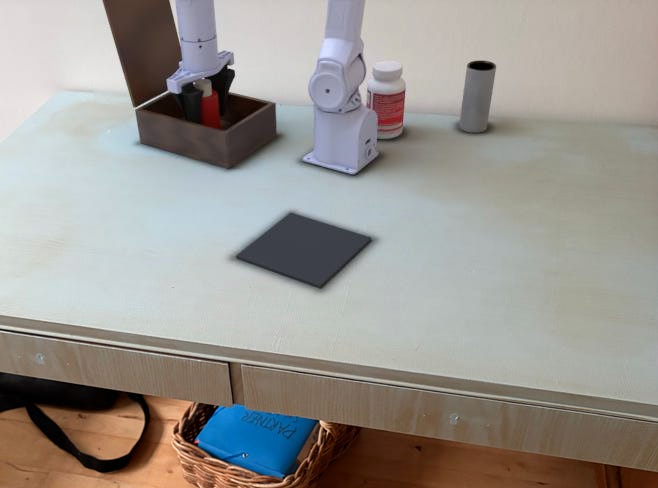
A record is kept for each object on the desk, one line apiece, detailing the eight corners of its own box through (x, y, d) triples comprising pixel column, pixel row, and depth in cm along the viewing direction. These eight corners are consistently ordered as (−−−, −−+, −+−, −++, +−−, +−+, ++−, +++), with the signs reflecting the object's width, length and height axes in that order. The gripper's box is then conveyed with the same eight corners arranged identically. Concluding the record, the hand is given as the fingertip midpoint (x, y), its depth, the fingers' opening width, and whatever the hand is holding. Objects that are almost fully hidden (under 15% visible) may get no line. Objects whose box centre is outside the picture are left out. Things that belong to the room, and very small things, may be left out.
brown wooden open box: (276, 136, 126) (275, 102, 122) (228, 169, 117) (225, 133, 114) (191, 114, 134) (187, 82, 130) (140, 143, 126) (134, 109, 122)
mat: (371, 240, 100) (371, 237, 100) (320, 288, 92) (320, 285, 92) (290, 214, 106) (290, 212, 106) (235, 258, 98) (235, 255, 98)
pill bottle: (409, 133, 125) (415, 66, 117) (381, 143, 122) (385, 75, 115) (385, 121, 128) (389, 55, 121) (357, 130, 126) (360, 64, 119)
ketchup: (226, 133, 126) (222, 79, 120) (210, 143, 123) (205, 88, 117) (206, 127, 128) (200, 74, 122) (189, 137, 125) (183, 83, 119)
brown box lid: (159, -43, 119) (140, -41, 121) (98, -22, 111) (80, -20, 113) (188, 80, 130) (171, 79, 132) (135, 107, 122) (118, 107, 124)
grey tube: (471, 119, 128) (480, 58, 121) (492, 127, 125) (502, 65, 118) (453, 126, 126) (461, 65, 119) (473, 135, 123) (482, 72, 116)
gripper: (207, 19, 121) (214, 101, 130) (147, 46, 112) (159, 132, 121) (242, 25, 118) (247, 109, 127) (183, 54, 109) (193, 142, 118)
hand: (206, 121), depth 124 cm, fingers open, 6 cm apart
